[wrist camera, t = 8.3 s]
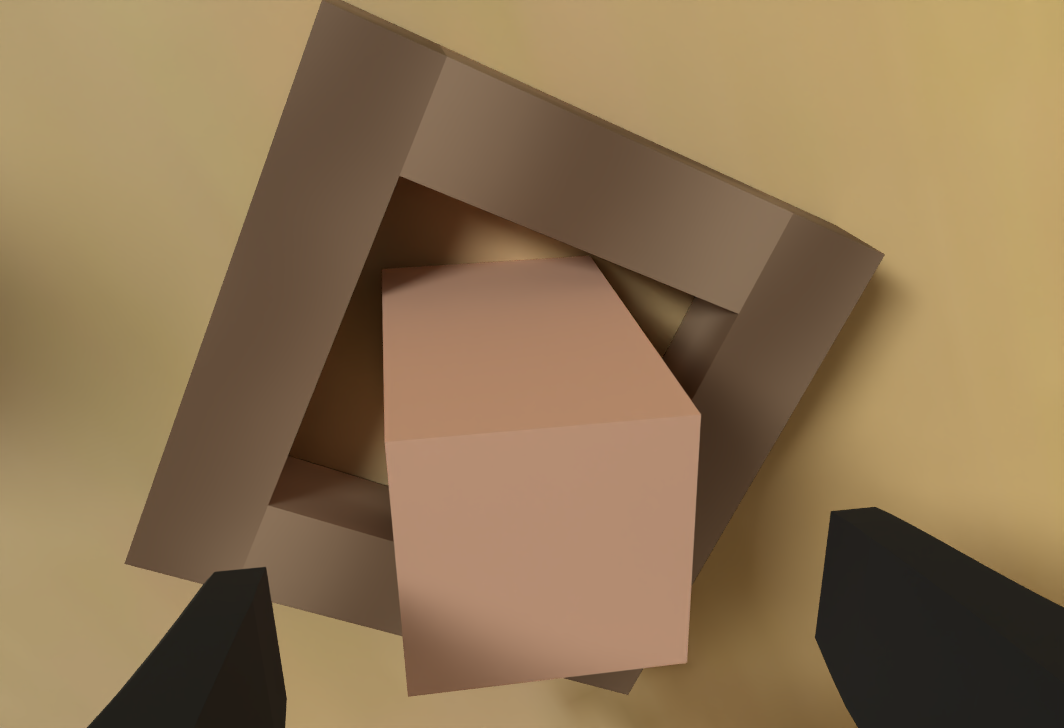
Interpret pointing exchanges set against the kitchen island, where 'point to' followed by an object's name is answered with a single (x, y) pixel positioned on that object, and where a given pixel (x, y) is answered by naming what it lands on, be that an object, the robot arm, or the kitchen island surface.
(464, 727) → the kitchen island surface
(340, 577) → the socket block
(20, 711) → the kitchen island surface
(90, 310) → the kitchen island surface
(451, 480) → the peg
